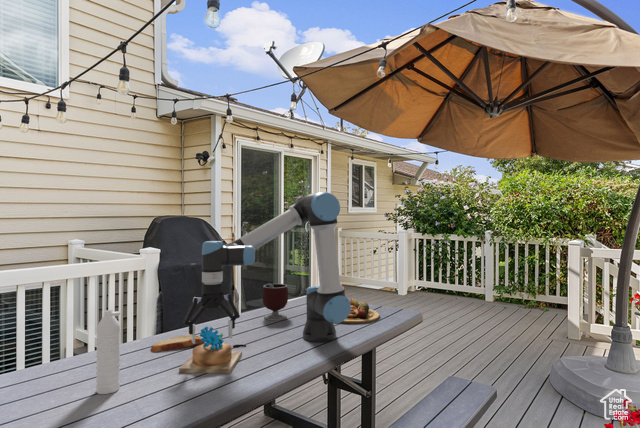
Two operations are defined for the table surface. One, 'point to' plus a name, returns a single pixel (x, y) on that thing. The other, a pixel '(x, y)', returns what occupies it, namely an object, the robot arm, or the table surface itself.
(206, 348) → the bread on wooden board
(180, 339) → the slice of bread
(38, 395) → the table surface
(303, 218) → the robot arm
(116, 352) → the water bottle
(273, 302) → the mate gourd
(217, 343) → the gear
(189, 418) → the table surface
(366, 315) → the wooden plate with food
